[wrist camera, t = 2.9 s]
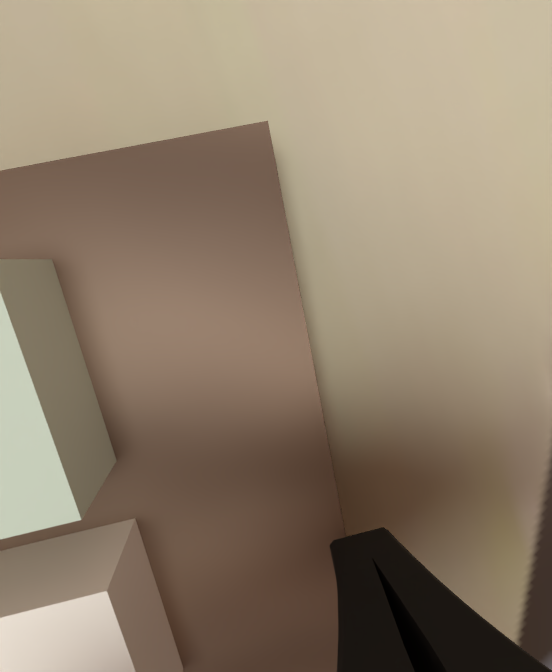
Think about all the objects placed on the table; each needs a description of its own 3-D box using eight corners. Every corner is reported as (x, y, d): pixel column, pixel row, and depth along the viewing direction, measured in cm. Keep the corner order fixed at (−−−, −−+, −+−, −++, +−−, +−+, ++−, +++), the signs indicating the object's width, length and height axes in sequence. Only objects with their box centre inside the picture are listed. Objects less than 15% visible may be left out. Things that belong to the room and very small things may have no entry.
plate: (350, 607, 12) (371, 672, 10) (-96, 725, 12) (-163, 819, 10) (261, 149, 9) (267, 120, 8) (-345, 264, 9) (-513, 266, 7)
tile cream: (183, 668, 10) (170, 770, 8) (5, 716, 10) (-54, 833, 8) (135, 518, 9) (106, 590, 7) (-65, 566, 9) (-153, 656, 7)
